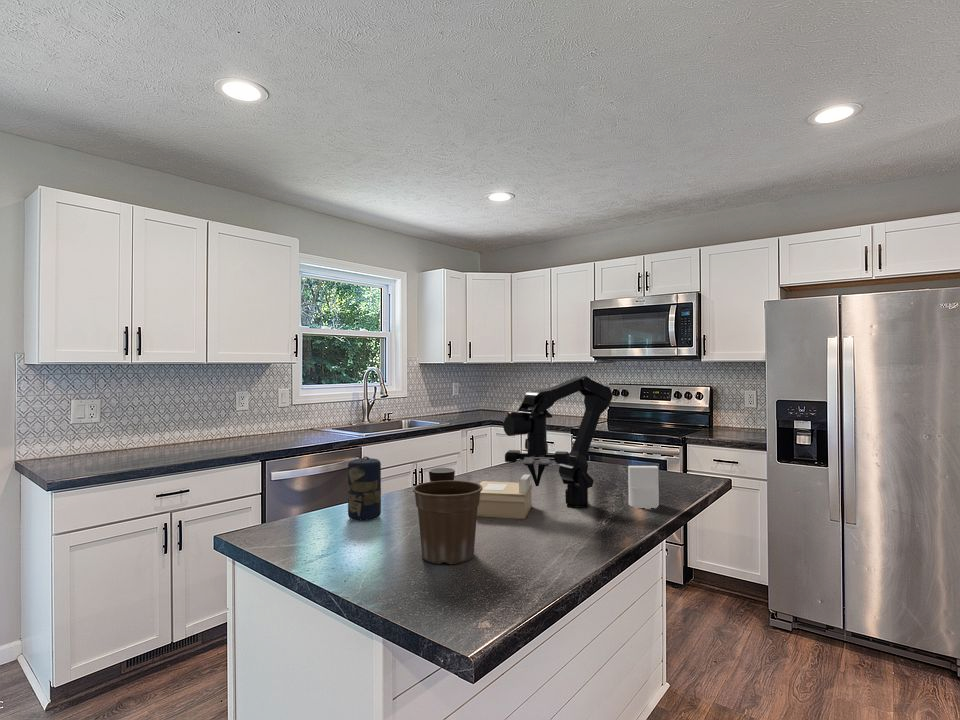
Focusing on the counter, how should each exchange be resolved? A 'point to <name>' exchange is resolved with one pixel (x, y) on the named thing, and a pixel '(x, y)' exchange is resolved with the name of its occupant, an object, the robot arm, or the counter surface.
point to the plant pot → (447, 519)
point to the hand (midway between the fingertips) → (537, 485)
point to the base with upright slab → (643, 486)
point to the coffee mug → (441, 474)
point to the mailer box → (505, 508)
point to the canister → (364, 489)
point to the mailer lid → (506, 490)
